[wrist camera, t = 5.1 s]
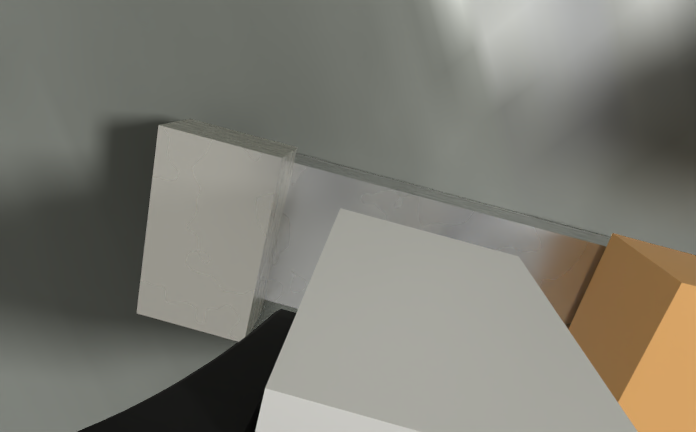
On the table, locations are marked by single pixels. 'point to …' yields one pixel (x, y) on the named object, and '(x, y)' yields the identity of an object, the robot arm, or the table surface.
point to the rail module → (429, 343)
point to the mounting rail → (305, 228)
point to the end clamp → (643, 332)
